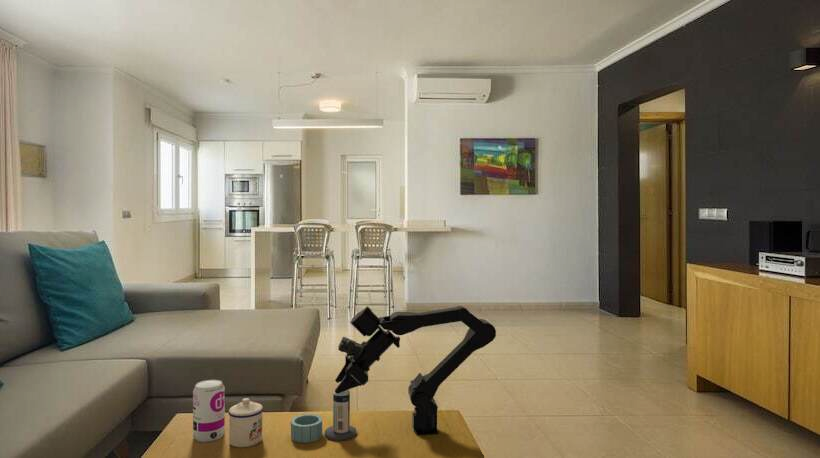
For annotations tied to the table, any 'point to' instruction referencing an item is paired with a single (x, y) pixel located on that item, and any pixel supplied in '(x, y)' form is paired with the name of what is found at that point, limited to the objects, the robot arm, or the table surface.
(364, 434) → the table surface
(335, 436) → the rubber mat
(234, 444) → the teacup with lid
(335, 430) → the beer can
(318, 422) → the plastic tub
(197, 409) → the supplement can
